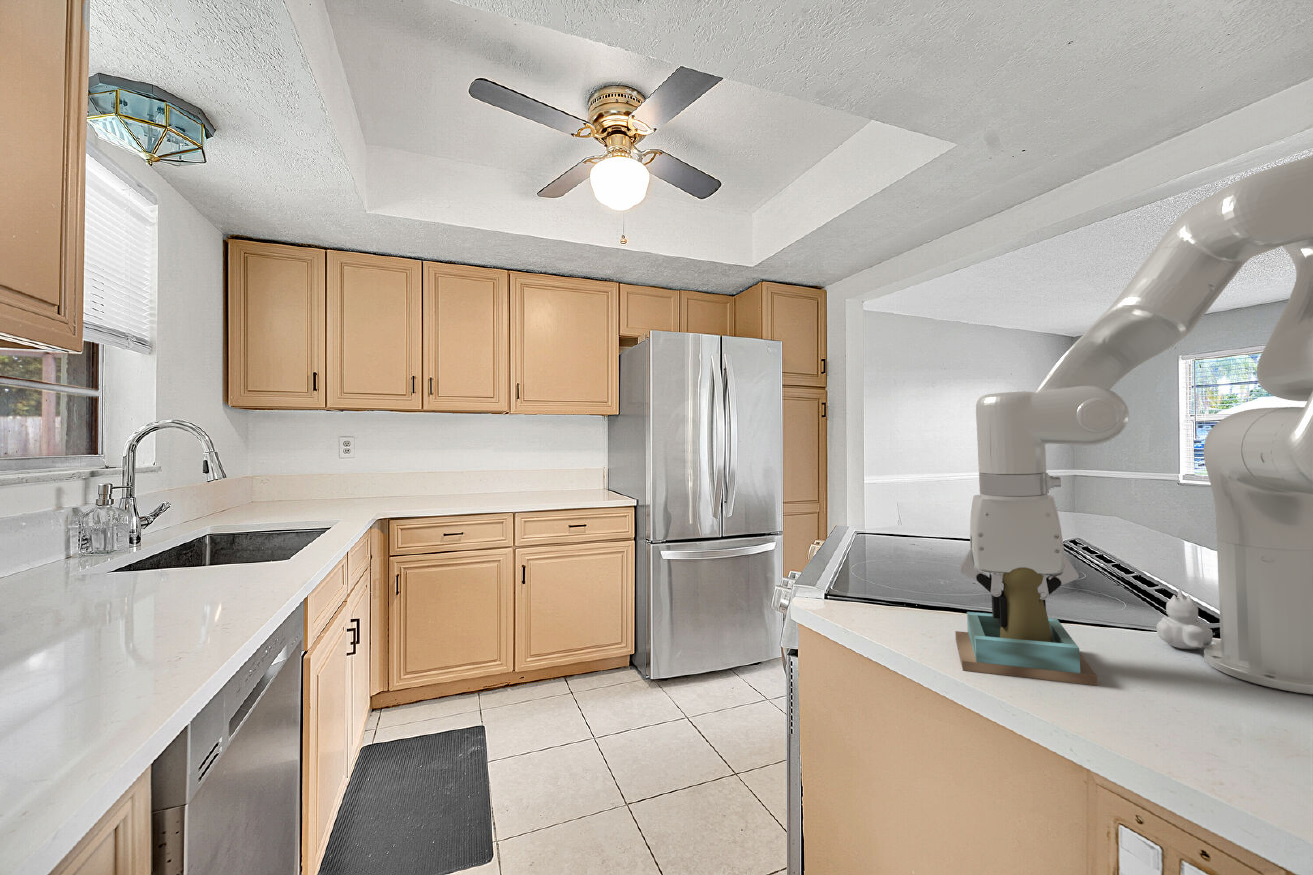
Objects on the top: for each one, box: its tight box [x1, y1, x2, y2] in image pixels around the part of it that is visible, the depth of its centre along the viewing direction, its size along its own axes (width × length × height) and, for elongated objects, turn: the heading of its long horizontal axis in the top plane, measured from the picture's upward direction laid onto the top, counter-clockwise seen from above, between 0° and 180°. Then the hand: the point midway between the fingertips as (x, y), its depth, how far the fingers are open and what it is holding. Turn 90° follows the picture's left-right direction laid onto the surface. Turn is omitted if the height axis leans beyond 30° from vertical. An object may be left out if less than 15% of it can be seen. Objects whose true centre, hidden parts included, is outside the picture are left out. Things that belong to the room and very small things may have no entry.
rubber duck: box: [1156, 587, 1214, 650], centre depth 74 cm, size 5×7×8 cm
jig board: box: [954, 611, 1098, 686], centre depth 74 cm, size 14×11×4 cm
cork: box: [1000, 567, 1054, 643], centre depth 73 cm, size 6×6×11 cm
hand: (1018, 623), depth 74 cm, fingers open, 3 cm apart
